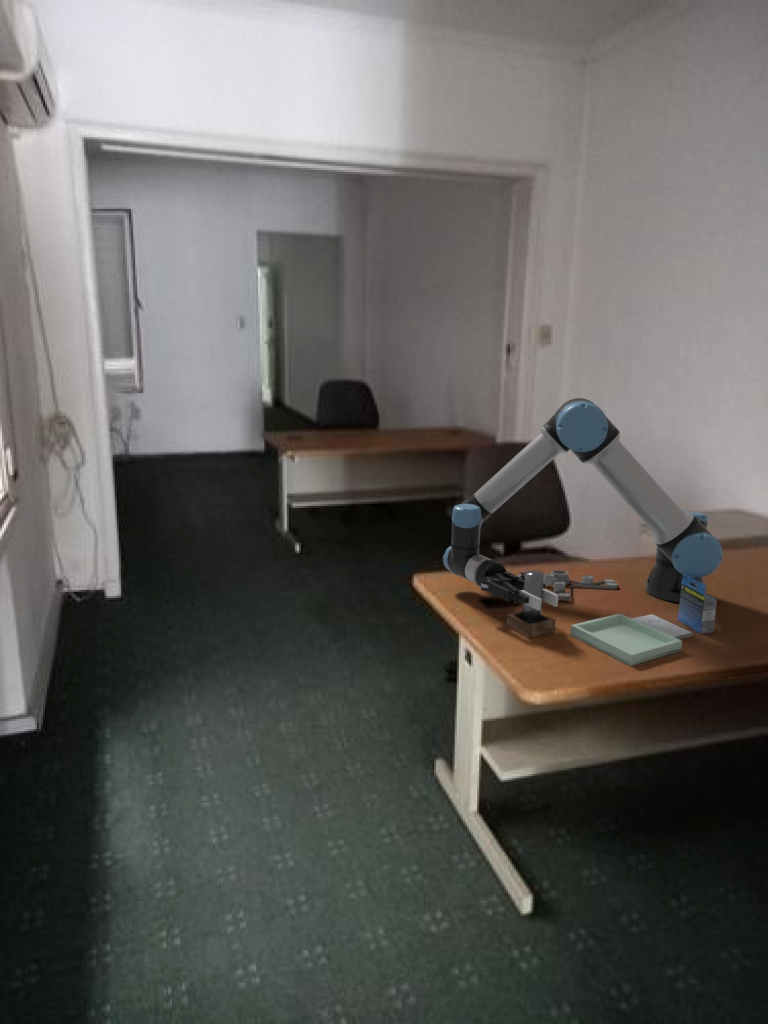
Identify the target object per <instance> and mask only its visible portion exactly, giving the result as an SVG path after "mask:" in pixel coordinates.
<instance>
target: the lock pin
mask: <svg viewBox="0 0 768 1024" xmlns="http://www.w3.org/2000/svg"><path fill="white" fill-rule="evenodd" d="M524 573H525V577H524V591H526V592H528V593H530V594H532V595H535V596H537V597H539V598H541V599H542V594H543V581H544V574H545V573H544V572H542V571H540V570H531V569H530V570H529V569H528V570H526V571H524ZM542 604H543V601H542V600H541V610H536V609H534V608H532V607H530V606H528V605H526V604H524V603H522V620H523V621H525V622H527V623H529V624H532V623H536V622H540V621H541V613H542Z"/></svg>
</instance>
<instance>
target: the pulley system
mask: <svg viewBox="0 0 768 1024" xmlns="http://www.w3.org/2000/svg"><path fill="white" fill-rule="evenodd" d="M569 574H570V572H568V571H566V570H561V569H557V570H555V569H554V570H551V571H550V572H547V573H544V581H543V583H544V584H546V586H553V585H554V586H553V591H551V592H552V593H554V594H557V595H558V601H570V600H571V594H572V588H571V587H581V588H580V589H596V590H597V589H599V590H601V589H603V590H613V589H614V590H618V589H619V583H617V582H616V581H615V579H610V578H608V579H603V580H601V581H596V582H595V581H594V578H595V577H594V576H592V575H589V574H587V575H586V574H585V575H582V577H581V581H580V582H579V581H575V580H571V577H569ZM571 582H573V583H572V584H571V585H570V589H569V593H566V591H567V590H566V586H568V585H567V584H570V583H571ZM575 583H576V584H575ZM579 584H580V585H579ZM597 584H598V585H597ZM600 584H601V585H600ZM602 584H604V585H602ZM565 585H566V586H565ZM617 588H618V589H617Z"/></svg>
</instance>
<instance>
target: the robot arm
mask: <svg viewBox="0 0 768 1024" xmlns="http://www.w3.org/2000/svg"><path fill="white" fill-rule="evenodd" d="M620 437H621V431H620V430H619V429H618V428H617V427H616V426H615V425H614V423H613V422H612V421H611V420H610V419H609V418H608V417H607V416H606V414H605V412H604V411H603V410H602V408H600V406H598V405H596V404H595V403H594V402H593V401H591V400H589V399H587V398H583V397H582V398H580V397H579V398H578V397H577V398H573V399H569V400H567V401H566V402H564V403H563V404H562V405H561V406H560V407H559V408H558V409H557V410H556V412H555V413H554V414H553V415H552V416H551V417H550V418H549V420H548V421H546V422H545V423H544V424H543V425H542V426H541V432H540V433H539V434H538V435H537V436H535V437H534V438H533V440H531V441H530V442H529V443H528V444H526V446H525V447H523V449H521V450H520V451H519V452H518V453H517V454H515V456H514V457H513V458H511V459H510V461H508V462H507V463H506V464H505V465H504V466H503V467H502V468H501V469H500V470H498V471H497V472H496V473H495V474H494V475H493V476H492V477H491V478H490V479H489V480H488V481H487V482H485V484H483V485H482V486H481V487H480V488H479V489H477V491H476V492H474V494H473V495H471V496H470V497H469V498H468V499H466V500H465V501H463V502H462V503H461V504H455V505H454V506H453V509H452V515H451V542H450V543H451V545H450V546H449V547H447V548H446V549H445V552H444V555H443V557H442V562H443V566H444V567H445V569H446V570H449V571H450V572H451V573H452V574H454V575H456V576H458V577H461V578H463V579H465V580H467V581H469V582H471V583H473V584H475V585H477V586H478V587H480V590H481V591H484V592H487V593H489V594H490V595H494V596H495V597H497V598H499V599H502V600H504V601H506V602H511V601H512V600H513V604H514V605H518V604H519V602H520V603H522V604H523V603H524V604H526V605H528V606H530V607H532V608H534V609H536V610H541V611H542V608H541V600H542V602H544V603H547V604H549V605H550V606H553V607H554V608H556V607H558V603H559V600H558V596H559V595H558V594H554V593H552V592H553V591H550V590H548V589H546V588H547V587H546V586H547V585H546V584H544V583H543V594H542V599H541V598H539V597H537V596H535V595H532V594H530V593H528V592H526V591H524V577H525V572H520V573H519V575H515V574H514V573H512V572H509V571H508V570H507V569H506V567H505V566H504V565H503V564H501V563H500V562H498V561H495V560H493V559H491V558H489V557H487V556H484V555H482V554H480V538H481V527H482V524H483V523H484V522H485V521H486V520H487V519H488V518H490V516H492V515H493V513H494V512H496V511H497V510H498V509H499V508H500V507H501V506H503V504H504V503H506V502H507V501H508V500H509V499H510V498H511V497H513V495H515V494H516V493H517V492H518V491H519V490H520V489H522V488H523V487H524V486H525V485H526V484H527V483H528V482H530V480H531V479H533V478H534V477H535V476H536V475H537V474H538V473H540V472H541V471H542V470H543V469H544V468H546V467H547V465H548V464H549V463H551V462H552V461H553V460H554V459H555V458H557V457H558V456H559V455H560V454H563V453H565V454H566V453H568V452H569V451H571V452H572V453H573V455H575V456H576V458H577V459H578V460H579V461H580V462H581V463H582V464H588V465H589V464H590V465H592V466H593V467H594V468H595V469H596V470H597V472H598V473H599V474H600V475H601V476H602V477H603V478H604V479H605V481H607V483H608V484H609V485H610V486H611V488H613V489H614V490H615V491H616V492H617V493H616V494H618V495H619V496H620V497H621V498H622V499H623V500H624V501H625V503H626V504H627V505H628V506H629V507H630V508H631V510H633V511H634V513H635V514H636V515H637V516H638V517H639V518H640V519H641V520H642V522H643V523H644V524H645V525H646V527H648V528H649V530H651V531H652V532H653V534H654V535H653V543H654V544H655V545H656V553H655V562H654V565H653V567H652V569H651V571H650V573H649V575H648V578H647V579H646V582H645V589H646V590H645V592H646V593H648V594H649V595H651V596H652V597H655V598H657V599H661V600H663V601H668V602H676V603H680V594H681V583H682V579H683V575H684V574H686V575H687V576H689V577H691V578H693V579H695V580H697V581H699V582H701V583H703V584H705V583H704V578H703V577H707V576H709V575H711V574H712V573H714V572H715V571H716V570H717V569H718V568H719V566H720V565H721V563H722V560H723V554H724V553H723V548H722V546H721V543H720V540H718V538H717V537H715V536H714V535H713V534H712V533H711V532H710V531H709V530H708V529H707V526H708V524H709V522H708V515H706V514H705V513H701V512H698V511H697V512H696V511H695V512H694V511H686V510H682V509H681V508H680V507H679V506H678V505H677V504H676V502H675V501H674V500H673V499H672V498H671V496H669V494H667V492H666V491H665V490H664V489H663V488H662V487H661V486H660V485H659V483H658V482H657V481H656V480H655V479H654V478H653V477H652V476H651V475H650V473H648V471H647V470H646V469H645V468H644V467H643V465H641V463H640V462H639V461H638V460H637V459H636V458H635V457H634V455H632V453H631V452H630V451H629V450H628V449H627V448H626V447H625V445H624V444H623V443H622V442H621V441H620ZM690 585H692V586H693V587H695V588H697V585H695V584H694V583H691V582H690Z"/></svg>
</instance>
